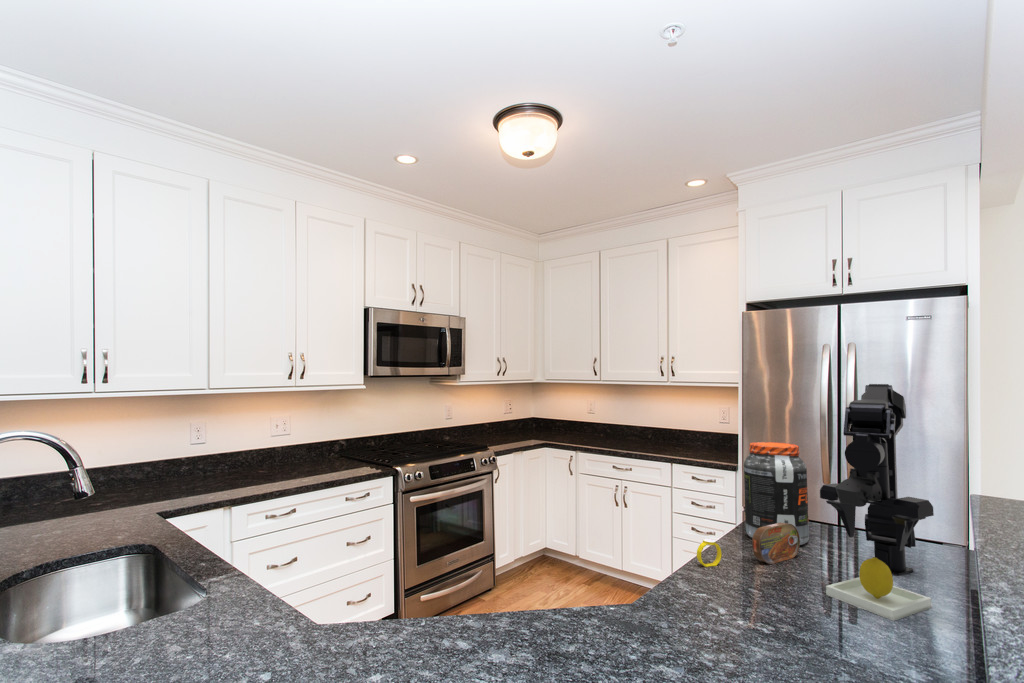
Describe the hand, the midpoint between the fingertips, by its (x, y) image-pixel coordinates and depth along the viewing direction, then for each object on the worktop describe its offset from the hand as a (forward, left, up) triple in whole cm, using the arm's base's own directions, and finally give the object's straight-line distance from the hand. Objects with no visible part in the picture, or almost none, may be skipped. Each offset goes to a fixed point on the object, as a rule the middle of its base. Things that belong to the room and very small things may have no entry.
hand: (874, 543), depth 104 cm
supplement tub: (-18, -36, -12) cm, 42 cm away
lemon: (0, 0, -11) cm, 11 cm away
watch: (+15, -29, -12) cm, 35 cm away
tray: (0, 0, -11) cm, 11 cm away
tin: (-3, -25, -12) cm, 28 cm away
